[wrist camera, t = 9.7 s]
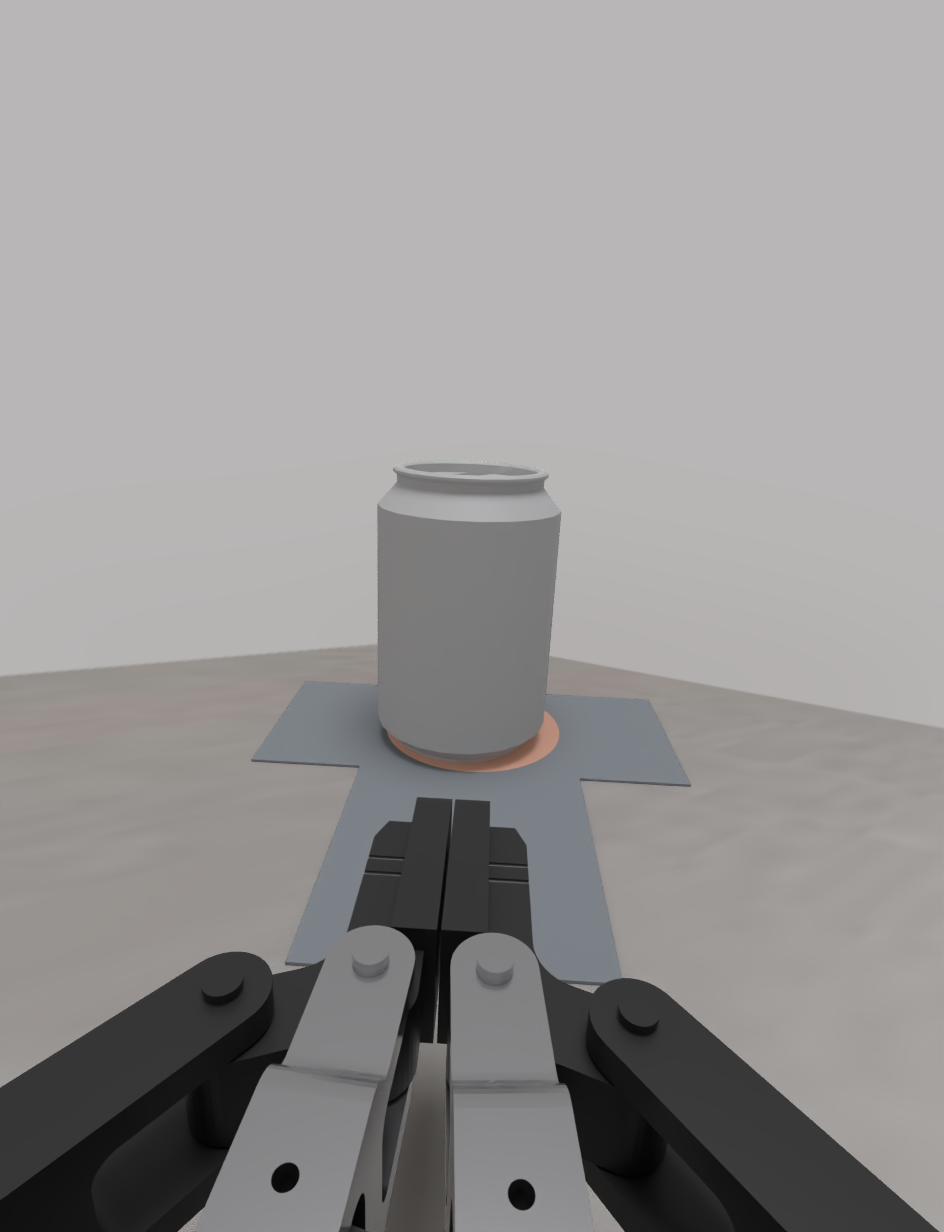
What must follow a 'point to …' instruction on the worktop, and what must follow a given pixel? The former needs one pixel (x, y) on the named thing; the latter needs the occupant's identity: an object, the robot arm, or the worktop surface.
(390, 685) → the can
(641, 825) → the worktop surface
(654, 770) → the t mat
